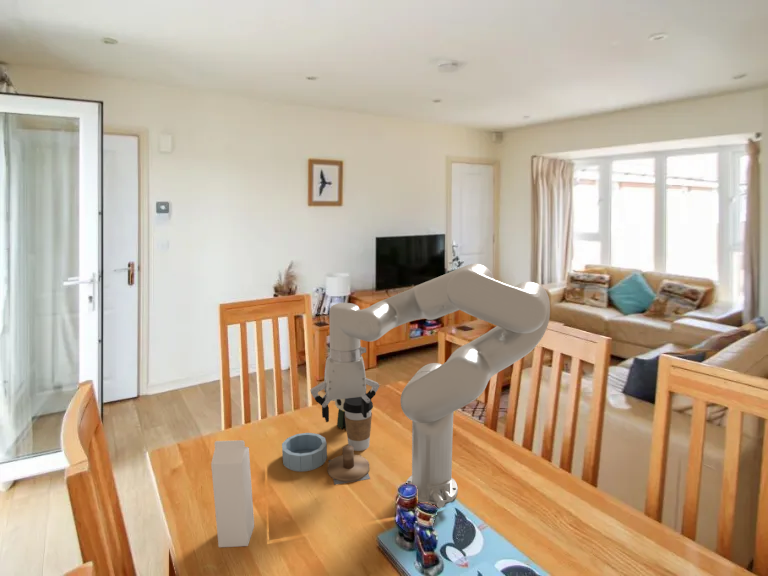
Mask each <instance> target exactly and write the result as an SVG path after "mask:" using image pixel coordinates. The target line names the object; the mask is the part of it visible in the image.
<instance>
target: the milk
mask: <svg viewBox="0 0 768 576" xmlns="http://www.w3.org/2000/svg"><path fill="white" fill-rule="evenodd" d="M245 444H246V442H245V441H244V440H243V439H241V440H239V439H238V440H215V441H214V451H213V455H212V459H211V463H210V465H211V473H212V474H211V477H212V488H213V499H214V509H215V510H214V511H215V522H216V532H217V541H218V542H217V544H218V545H217V546H218V548H234V547H249V543H250V540H251V538H252V535H253V531H254V529H255V518H254V515H255V514H254V504H253V490H252V475H251V473H252V472H251V462H250V448H249V446H245Z"/></svg>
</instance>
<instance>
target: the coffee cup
mask: <svg viewBox="0 0 768 576" xmlns="http://www.w3.org/2000/svg"><path fill="white" fill-rule="evenodd" d="M367 393H368V392H366V394H367ZM361 406H362V397H356V398H346V399H345V402H344V404H343V409H344V410H345V423H346V429H345V430H346V436H347V445H351V446H353V448H354V451H356V452H361V451H365V450H367V449H368V448H369V447H370V442H371V441H370V440H371V439H370V438H371V431H372V429H371V428H372V419H373V414H372V409H374V404H373V402H372V399H371V400H370V402H369V413H367V418H364V417H363V415H362V412H361Z"/></svg>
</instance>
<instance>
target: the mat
mask: <svg viewBox="0 0 768 576" xmlns="http://www.w3.org/2000/svg"><path fill="white" fill-rule="evenodd" d="M331 460H332V459H328V463H329V462H330V461H331ZM332 479H333V478H332ZM364 480H365V481H366V480H371V477H370V475H369V473H368V474H367V475H366V476H365V477H363V478H361V479H359V480H356V481H351V482H350V483H353V482H360V481H364ZM347 483H349V482H343V481H338V480H335V479H333V484H334V485H340V484H341V485H342V484H347Z"/></svg>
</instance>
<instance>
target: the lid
mask: <svg viewBox="0 0 768 576" xmlns="http://www.w3.org/2000/svg"><path fill="white" fill-rule="evenodd" d="M354 451H355V450H354V448H353V446H351V445H348V444H347V445H344V446H343V447H342V454H341V455H338V456H336V457H334V458H332V459H330V460H331V461H330V462H329V461H328V464H327V474H328V476H329V477H330V478H331V479H335V480H338V481H343V482H348V483H352V482H351V481H354V482H357V481H356V480H359V479H361V478H363V477H365V476H366V475H367V474H369V472H370V463H369V460H368V459H367V458H366V457H364V456H362V455H359V454H355V452H354Z"/></svg>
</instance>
